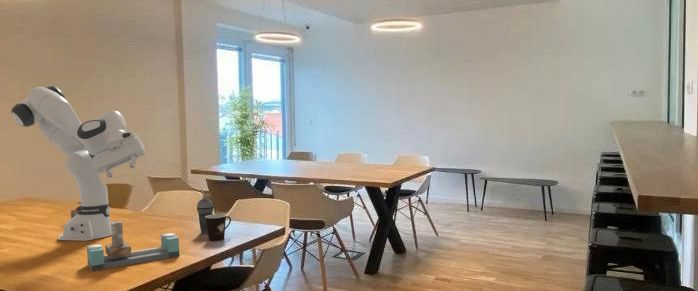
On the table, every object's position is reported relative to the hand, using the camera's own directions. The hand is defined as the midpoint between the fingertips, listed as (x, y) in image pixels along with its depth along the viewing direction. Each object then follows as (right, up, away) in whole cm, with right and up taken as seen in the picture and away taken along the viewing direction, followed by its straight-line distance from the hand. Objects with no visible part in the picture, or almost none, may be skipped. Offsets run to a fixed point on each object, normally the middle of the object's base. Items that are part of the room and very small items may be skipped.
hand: (121, 171), depth 196 cm
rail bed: (+8, -32, -7) cm, 34 cm away
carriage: (+3, -29, -10) cm, 31 cm away
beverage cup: (+23, -29, +35) cm, 51 cm away
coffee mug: (+32, -30, +23) cm, 50 cm away
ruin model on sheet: (-47, -30, +63) cm, 84 cm away
